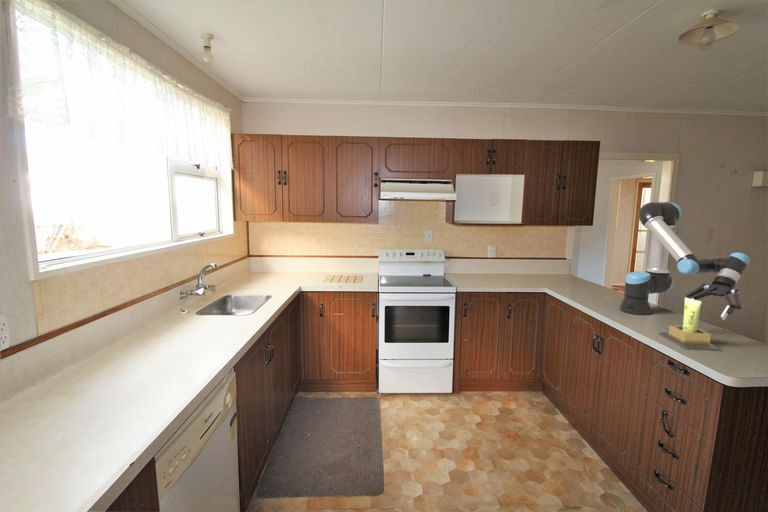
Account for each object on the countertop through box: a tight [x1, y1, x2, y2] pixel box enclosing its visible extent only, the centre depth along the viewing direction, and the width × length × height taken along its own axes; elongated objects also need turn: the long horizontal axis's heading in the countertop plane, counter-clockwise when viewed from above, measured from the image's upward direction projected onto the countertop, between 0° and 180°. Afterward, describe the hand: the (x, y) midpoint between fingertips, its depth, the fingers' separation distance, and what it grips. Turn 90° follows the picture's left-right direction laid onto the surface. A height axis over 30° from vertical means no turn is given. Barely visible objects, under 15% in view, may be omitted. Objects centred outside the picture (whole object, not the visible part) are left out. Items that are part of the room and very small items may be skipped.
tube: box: [682, 297, 702, 333], centre depth 160 cm, size 6×5×20 cm
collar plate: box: [658, 325, 722, 352], centre depth 161 cm, size 18×14×6 cm
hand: (703, 314), depth 163 cm, fingers open, 13 cm apart
